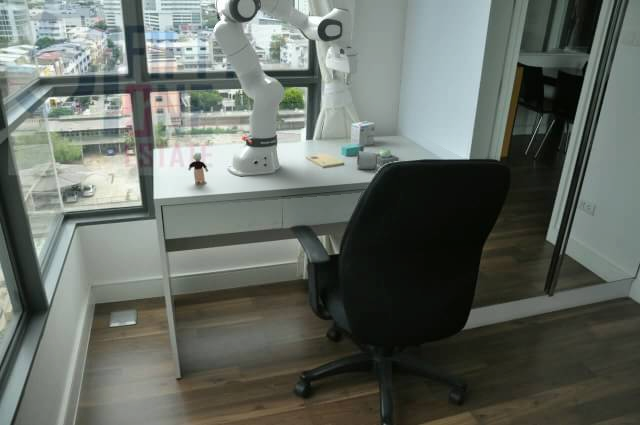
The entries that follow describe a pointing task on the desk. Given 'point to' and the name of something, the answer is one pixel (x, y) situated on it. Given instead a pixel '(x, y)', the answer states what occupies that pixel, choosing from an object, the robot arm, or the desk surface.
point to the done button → (385, 153)
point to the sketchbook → (324, 160)
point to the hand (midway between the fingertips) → (340, 81)
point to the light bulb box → (362, 133)
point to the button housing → (386, 159)
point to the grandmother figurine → (198, 169)
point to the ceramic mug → (366, 160)
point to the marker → (352, 149)
